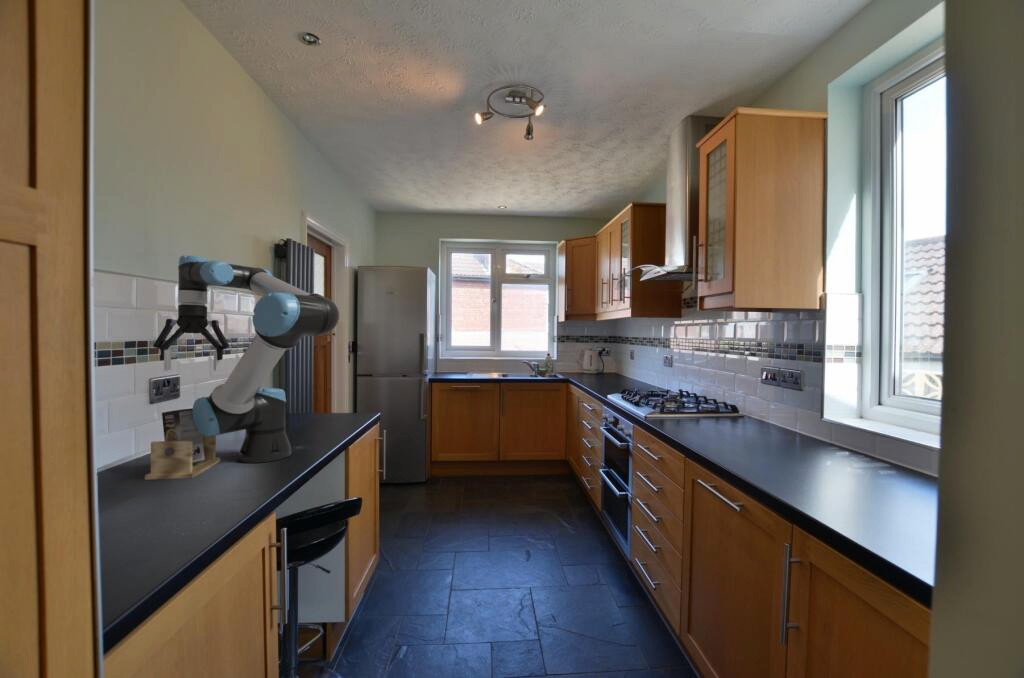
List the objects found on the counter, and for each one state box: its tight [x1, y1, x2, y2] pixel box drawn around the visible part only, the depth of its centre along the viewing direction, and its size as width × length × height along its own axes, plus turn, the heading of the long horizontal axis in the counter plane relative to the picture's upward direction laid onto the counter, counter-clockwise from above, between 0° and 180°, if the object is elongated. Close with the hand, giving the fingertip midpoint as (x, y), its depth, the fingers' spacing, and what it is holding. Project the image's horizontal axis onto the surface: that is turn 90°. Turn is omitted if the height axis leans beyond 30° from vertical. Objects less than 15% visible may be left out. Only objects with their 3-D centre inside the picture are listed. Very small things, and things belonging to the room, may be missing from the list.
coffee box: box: [161, 407, 205, 463], centre depth 131 cm, size 9×6×16 cm
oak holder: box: [144, 435, 221, 480], centre depth 130 cm, size 12×16×10 cm
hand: (192, 370), depth 140 cm, fingers open, 13 cm apart
